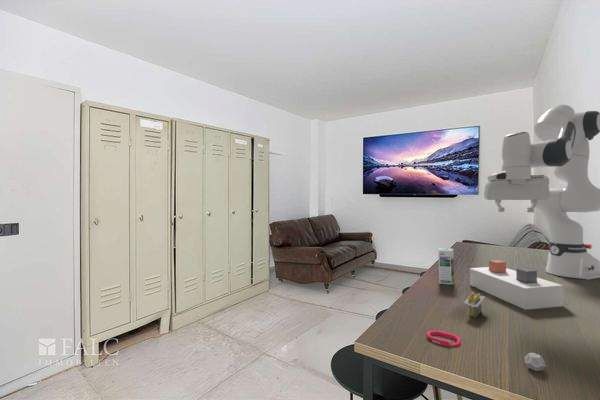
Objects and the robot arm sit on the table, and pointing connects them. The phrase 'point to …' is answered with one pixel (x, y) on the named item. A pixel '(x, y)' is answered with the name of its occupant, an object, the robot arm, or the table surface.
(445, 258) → the syrup box
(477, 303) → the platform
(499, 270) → the red plug
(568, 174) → the robot arm
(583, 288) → the table surface
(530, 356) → the grey irregular lump
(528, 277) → the gray rectangular block
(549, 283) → the block
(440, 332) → the fitness band
